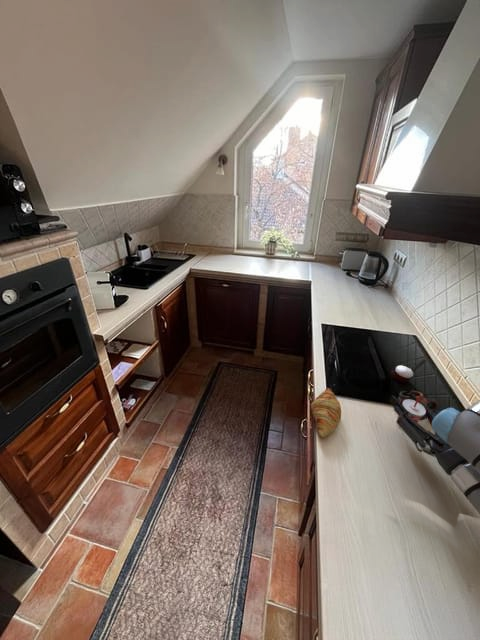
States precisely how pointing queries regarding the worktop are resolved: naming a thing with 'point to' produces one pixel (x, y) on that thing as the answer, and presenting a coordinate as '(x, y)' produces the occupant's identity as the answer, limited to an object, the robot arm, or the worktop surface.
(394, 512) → the worktop surface
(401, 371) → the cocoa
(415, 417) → the beverage cup
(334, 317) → the worktop surface
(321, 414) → the croissant
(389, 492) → the worktop surface
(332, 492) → the worktop surface
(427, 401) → the pottery mug
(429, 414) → the robot arm
